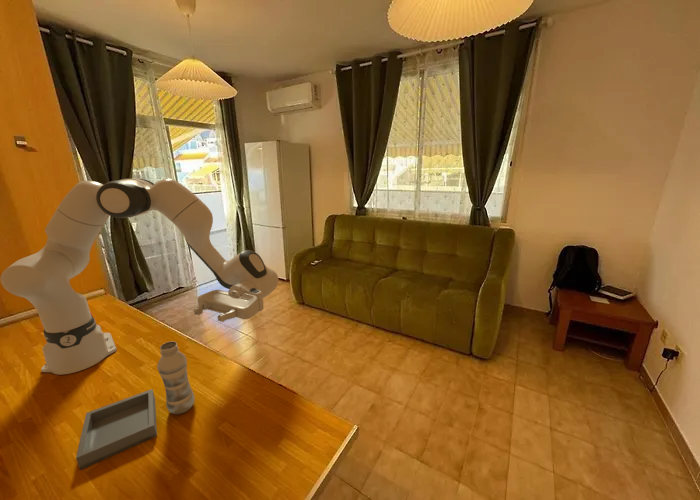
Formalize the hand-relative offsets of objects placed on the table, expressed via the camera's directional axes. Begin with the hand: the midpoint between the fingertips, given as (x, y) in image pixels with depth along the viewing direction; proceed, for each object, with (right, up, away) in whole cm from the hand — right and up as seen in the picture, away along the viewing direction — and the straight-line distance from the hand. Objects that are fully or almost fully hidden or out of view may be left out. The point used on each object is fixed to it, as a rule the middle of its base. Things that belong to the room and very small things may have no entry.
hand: (207, 315), depth 82 cm
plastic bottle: (-5, -24, -4) cm, 25 cm away
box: (-16, -26, -11) cm, 32 cm away
